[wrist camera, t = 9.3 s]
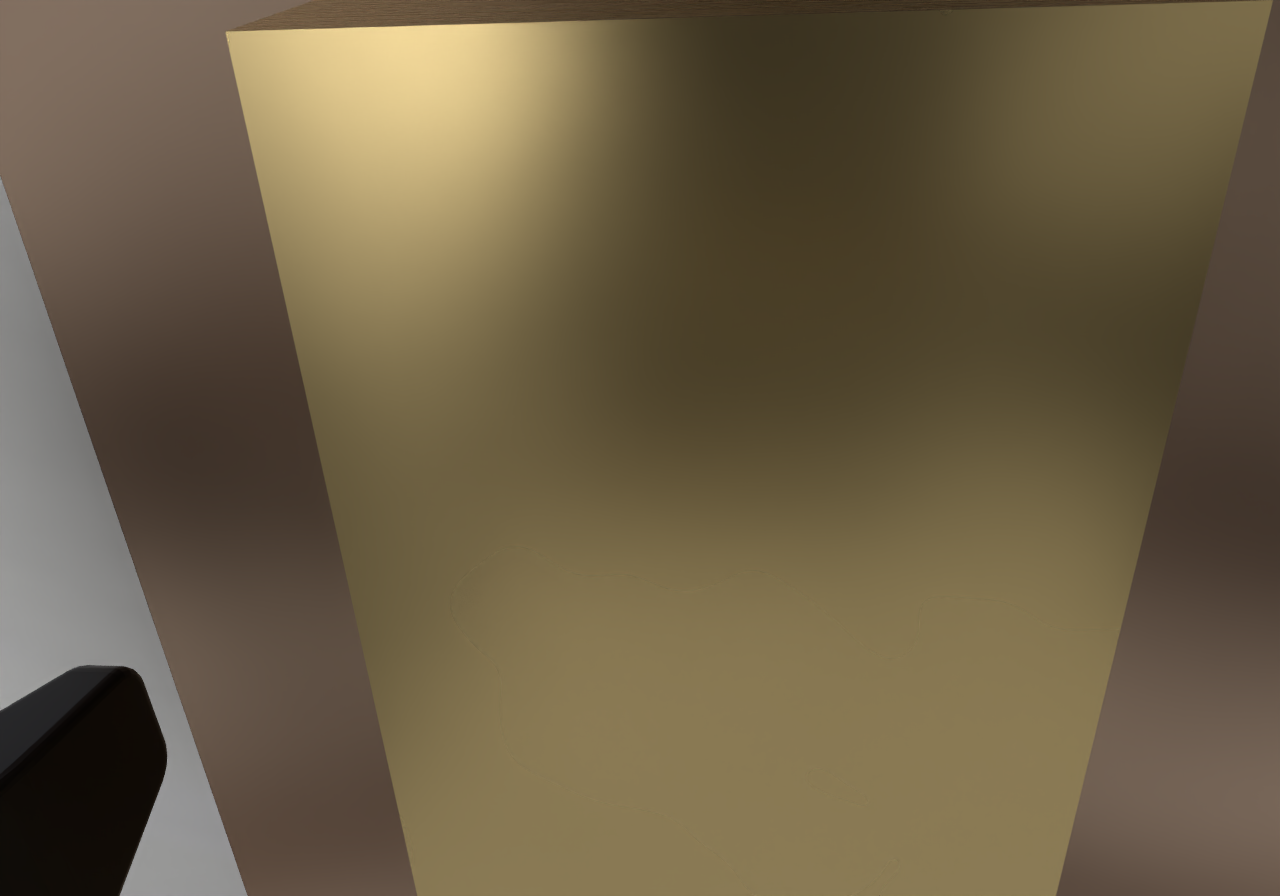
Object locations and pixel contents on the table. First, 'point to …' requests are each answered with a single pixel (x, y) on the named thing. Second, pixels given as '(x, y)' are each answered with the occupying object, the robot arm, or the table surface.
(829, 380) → the block
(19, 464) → the table surface
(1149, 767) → the shaft mount
